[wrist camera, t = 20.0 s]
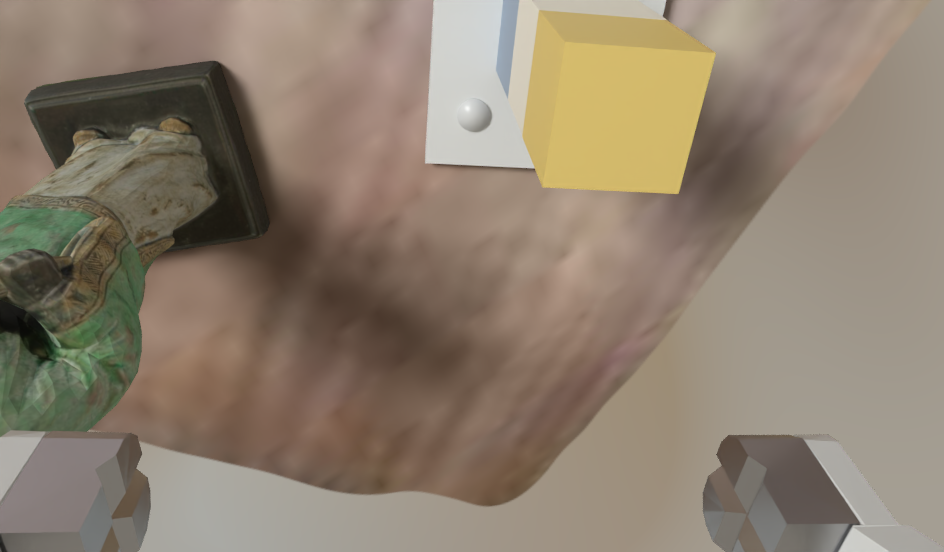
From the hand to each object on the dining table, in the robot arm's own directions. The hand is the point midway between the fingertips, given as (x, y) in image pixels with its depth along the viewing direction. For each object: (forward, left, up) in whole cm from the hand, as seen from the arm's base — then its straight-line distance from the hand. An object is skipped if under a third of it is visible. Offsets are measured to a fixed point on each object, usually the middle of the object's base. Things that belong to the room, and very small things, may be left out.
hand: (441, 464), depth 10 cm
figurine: (+9, -14, -31) cm, 35 cm away
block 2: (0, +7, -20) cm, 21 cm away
